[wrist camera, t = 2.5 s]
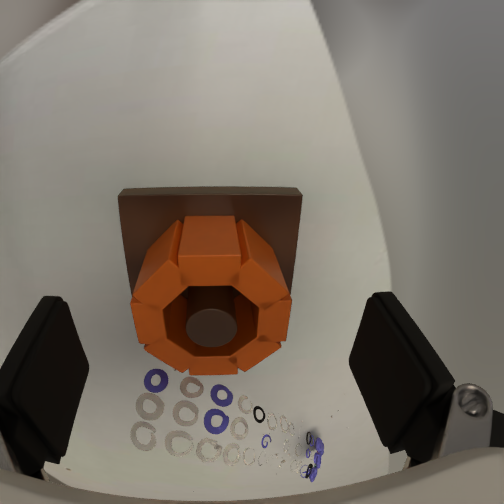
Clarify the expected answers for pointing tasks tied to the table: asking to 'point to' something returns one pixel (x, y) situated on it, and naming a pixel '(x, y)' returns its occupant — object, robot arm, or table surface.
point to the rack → (210, 204)
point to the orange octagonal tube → (211, 274)
